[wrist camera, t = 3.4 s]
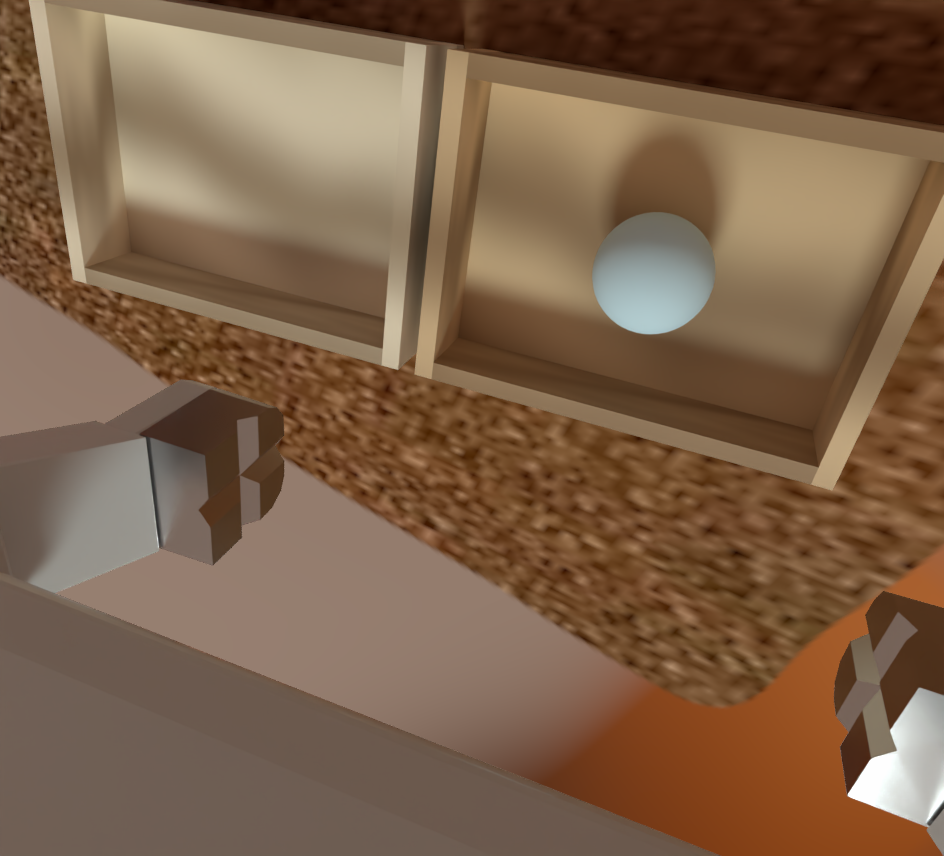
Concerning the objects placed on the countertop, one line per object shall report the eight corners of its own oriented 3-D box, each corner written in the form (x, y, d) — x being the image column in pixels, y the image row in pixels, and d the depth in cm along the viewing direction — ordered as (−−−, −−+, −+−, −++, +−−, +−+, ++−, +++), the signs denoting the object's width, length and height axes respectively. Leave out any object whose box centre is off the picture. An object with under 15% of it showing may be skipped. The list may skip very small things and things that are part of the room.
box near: (482, 48, 21) (447, 49, 19) (964, 128, 18) (999, 142, 16) (446, 342, 26) (414, 374, 24) (823, 442, 23) (832, 490, 21)
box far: (99, -16, 24) (25, -23, 22) (463, 45, 21) (426, 45, 19) (131, 259, 29) (73, 279, 27) (431, 338, 26) (398, 369, 24)
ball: (617, 190, 21) (597, 213, 18) (733, 214, 21) (730, 241, 18) (592, 299, 23) (570, 334, 20) (698, 324, 22) (691, 365, 19)
